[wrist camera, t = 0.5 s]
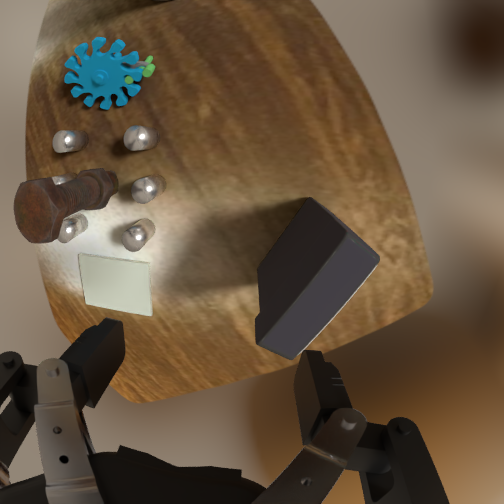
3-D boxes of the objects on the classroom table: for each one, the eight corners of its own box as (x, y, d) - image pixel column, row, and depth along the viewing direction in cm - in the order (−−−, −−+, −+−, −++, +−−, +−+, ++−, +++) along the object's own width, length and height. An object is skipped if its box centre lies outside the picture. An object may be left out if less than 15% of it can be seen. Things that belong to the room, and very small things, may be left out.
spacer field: (66, 132, 28) (46, 132, 23) (171, 127, 28) (158, 125, 24) (67, 230, 32) (49, 241, 28) (164, 240, 33) (153, 254, 29)
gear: (69, 113, 25) (54, 47, 16) (88, 86, 28) (80, 25, 19) (150, 114, 28) (151, 40, 19) (162, 87, 30) (167, 21, 21)
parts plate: (80, 253, 34) (78, 254, 33) (149, 262, 34) (148, 264, 34) (87, 301, 37) (86, 303, 36) (152, 313, 37) (151, 316, 37)
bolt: (93, 203, 31) (16, 243, 17) (90, 164, 29) (8, 185, 15) (131, 202, 31) (61, 244, 17) (130, 161, 30) (53, 178, 16)
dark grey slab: (280, 283, 36) (298, 366, 22) (252, 266, 35) (254, 346, 21) (333, 213, 32) (389, 264, 18) (304, 192, 31) (348, 231, 17)
